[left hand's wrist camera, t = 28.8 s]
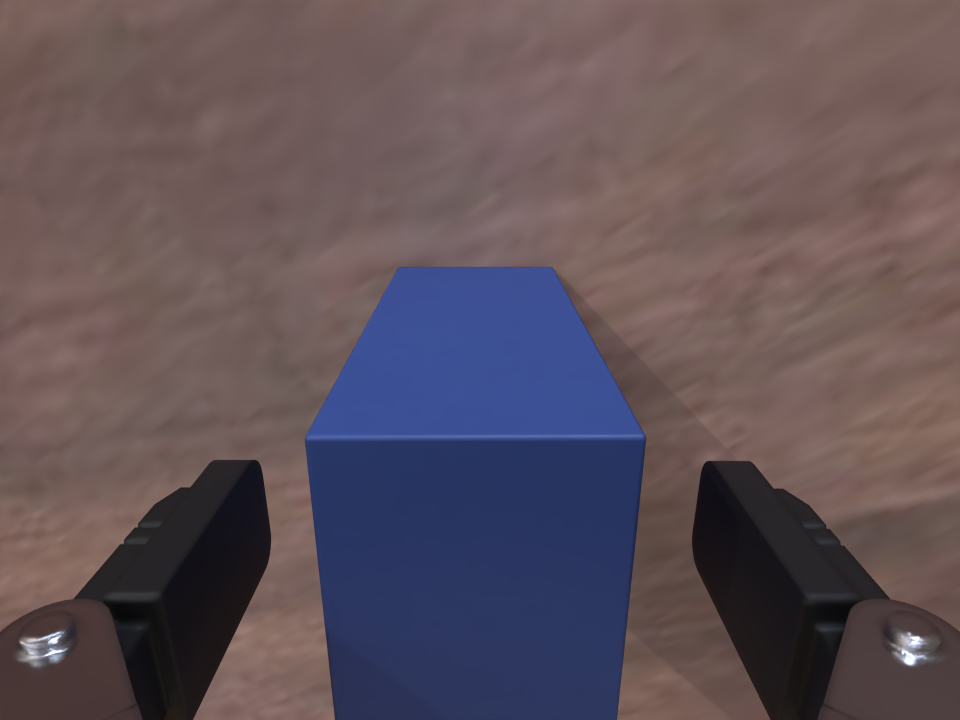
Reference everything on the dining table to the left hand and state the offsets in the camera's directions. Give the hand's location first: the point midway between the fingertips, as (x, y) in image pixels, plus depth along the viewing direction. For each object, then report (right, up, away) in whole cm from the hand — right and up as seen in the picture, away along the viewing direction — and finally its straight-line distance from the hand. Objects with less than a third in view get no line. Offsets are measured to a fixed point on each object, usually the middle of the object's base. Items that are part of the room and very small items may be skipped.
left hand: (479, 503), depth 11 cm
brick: (0, +3, +8) cm, 8 cm away
